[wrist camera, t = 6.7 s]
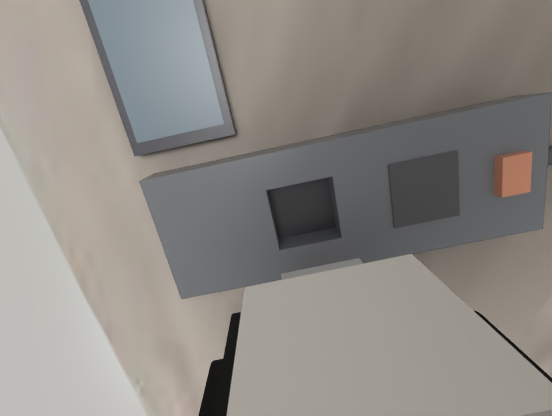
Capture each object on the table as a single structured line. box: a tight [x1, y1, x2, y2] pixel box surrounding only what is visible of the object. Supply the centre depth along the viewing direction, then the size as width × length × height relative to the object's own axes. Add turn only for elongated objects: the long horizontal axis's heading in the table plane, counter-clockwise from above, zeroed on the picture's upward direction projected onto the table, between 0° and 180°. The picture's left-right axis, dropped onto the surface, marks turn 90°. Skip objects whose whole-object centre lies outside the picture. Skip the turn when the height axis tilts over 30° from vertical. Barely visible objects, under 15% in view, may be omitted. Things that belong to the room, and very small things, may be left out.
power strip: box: [139, 93, 552, 299], centre depth 20 cm, size 33×9×3 cm, turn 102°
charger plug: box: [227, 254, 552, 416], centre depth 8 cm, size 5×5×7 cm
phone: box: [80, 0, 236, 156], centre depth 18 cm, size 7×14×1 cm, turn 12°
